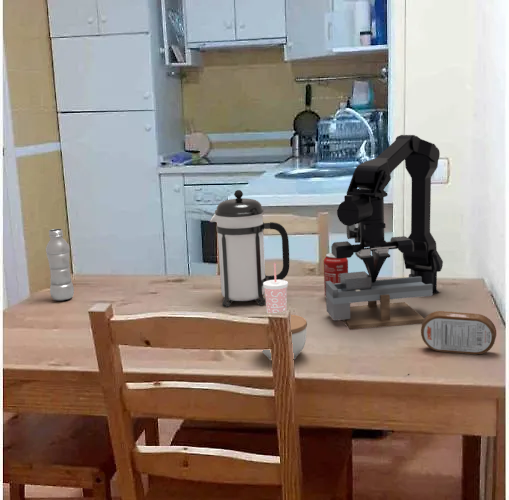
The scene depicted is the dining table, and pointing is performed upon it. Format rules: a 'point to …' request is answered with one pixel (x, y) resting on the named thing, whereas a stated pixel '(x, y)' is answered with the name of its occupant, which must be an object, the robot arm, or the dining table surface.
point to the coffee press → (244, 249)
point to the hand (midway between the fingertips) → (373, 282)
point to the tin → (458, 332)
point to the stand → (382, 314)
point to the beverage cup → (276, 294)
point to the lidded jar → (295, 335)
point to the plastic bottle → (59, 266)
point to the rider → (355, 281)
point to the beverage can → (334, 268)
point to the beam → (373, 294)
